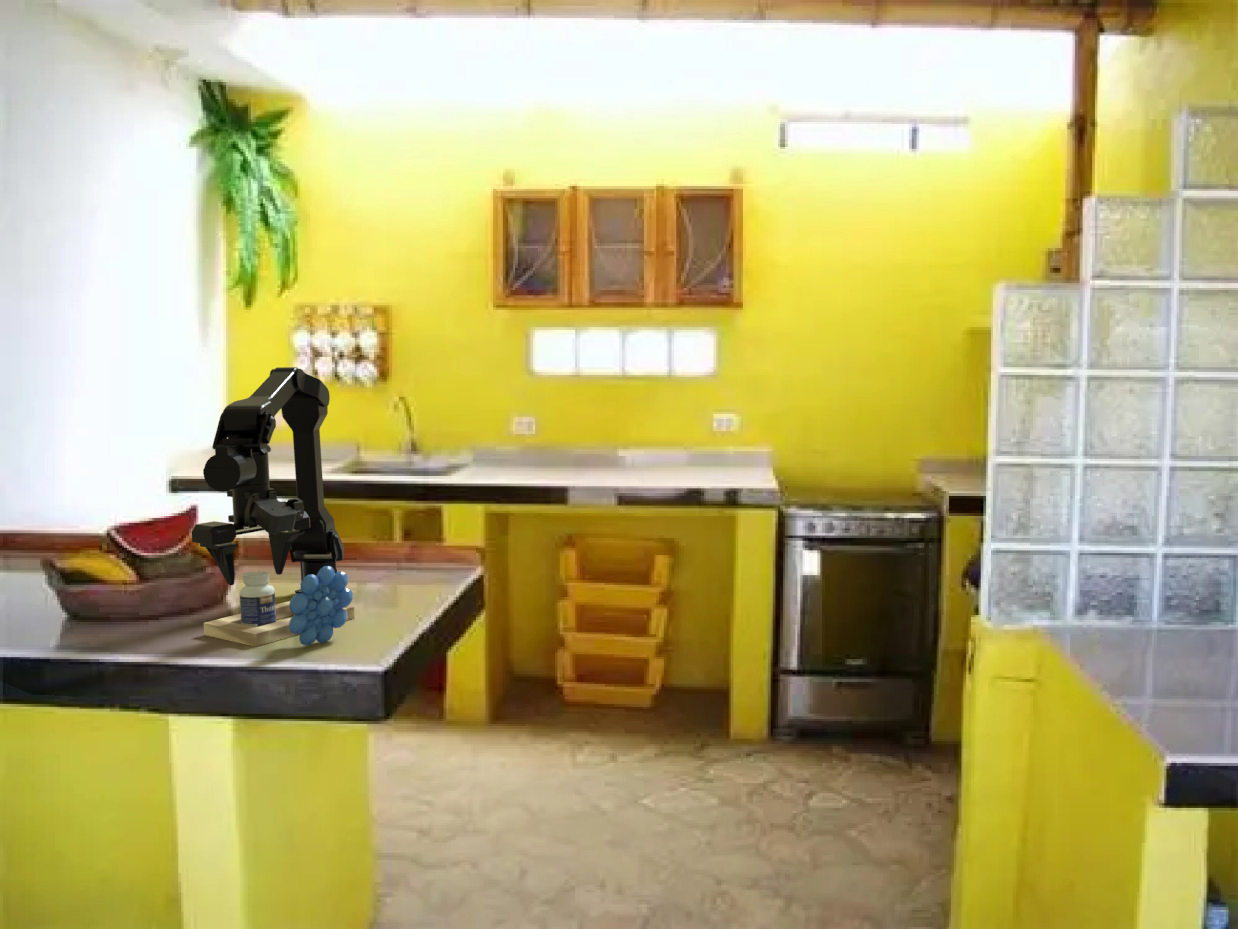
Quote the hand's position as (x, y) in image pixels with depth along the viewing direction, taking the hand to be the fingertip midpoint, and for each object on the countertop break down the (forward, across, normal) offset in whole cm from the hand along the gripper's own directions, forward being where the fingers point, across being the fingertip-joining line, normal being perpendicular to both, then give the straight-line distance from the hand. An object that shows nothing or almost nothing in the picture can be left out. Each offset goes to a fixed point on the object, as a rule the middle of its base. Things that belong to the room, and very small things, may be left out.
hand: (255, 579), depth 171 cm
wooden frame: (+9, +5, 0) cm, 10 cm away
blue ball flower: (+9, +2, -13) cm, 16 cm away
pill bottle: (+9, 0, 0) cm, 9 cm away
